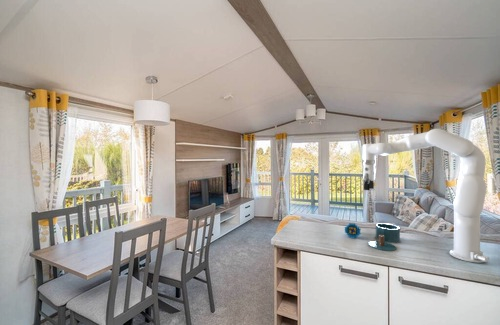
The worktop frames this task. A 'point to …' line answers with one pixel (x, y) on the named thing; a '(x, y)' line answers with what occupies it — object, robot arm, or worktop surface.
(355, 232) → the toy flower
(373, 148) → the robot arm
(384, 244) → the tin lid
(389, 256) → the worktop surface
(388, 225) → the tin
